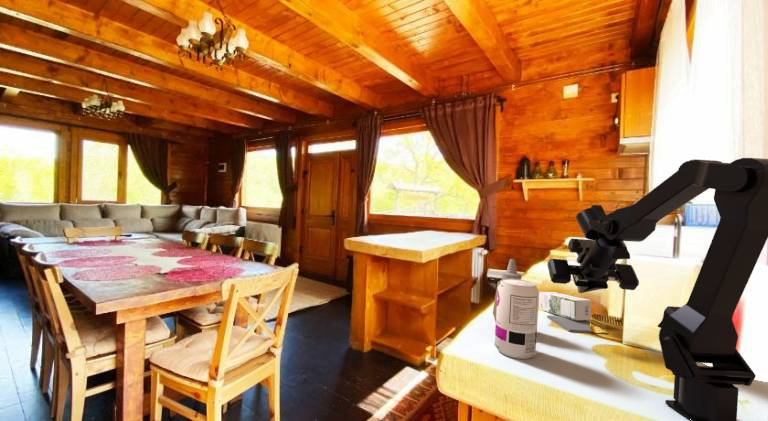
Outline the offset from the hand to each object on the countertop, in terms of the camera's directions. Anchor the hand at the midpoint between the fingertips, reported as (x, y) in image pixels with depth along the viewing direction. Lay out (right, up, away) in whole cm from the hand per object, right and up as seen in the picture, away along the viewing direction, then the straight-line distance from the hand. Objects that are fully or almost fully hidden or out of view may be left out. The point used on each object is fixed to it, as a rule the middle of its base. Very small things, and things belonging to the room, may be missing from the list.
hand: (579, 291), depth 85 cm
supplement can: (-24, -9, -16) cm, 30 cm away
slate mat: (+1, -10, +4) cm, 11 cm away
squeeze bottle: (-20, -9, -2) cm, 22 cm away
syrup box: (+4, -7, +5) cm, 9 cm away
